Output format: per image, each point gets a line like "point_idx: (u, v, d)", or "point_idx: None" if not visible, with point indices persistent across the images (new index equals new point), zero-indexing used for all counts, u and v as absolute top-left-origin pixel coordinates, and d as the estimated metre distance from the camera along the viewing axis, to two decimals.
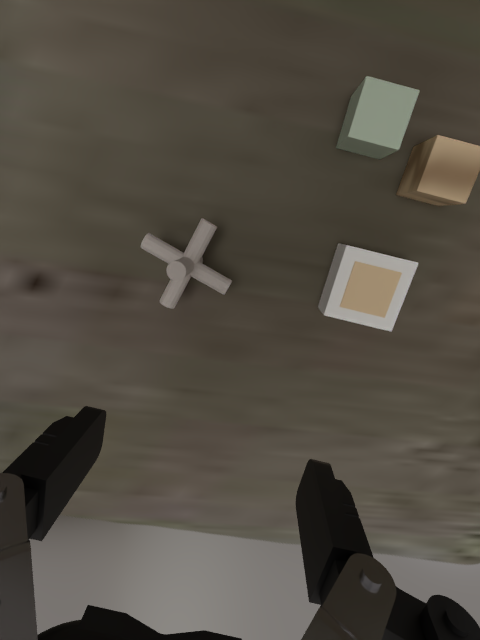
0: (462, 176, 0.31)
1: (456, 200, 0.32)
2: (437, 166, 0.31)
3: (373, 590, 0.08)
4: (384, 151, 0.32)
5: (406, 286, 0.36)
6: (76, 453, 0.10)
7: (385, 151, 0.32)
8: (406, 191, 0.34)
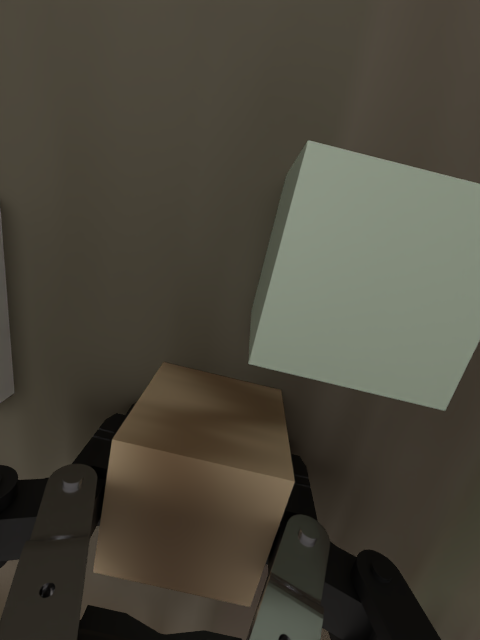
0: (170, 556, 0.10)
1: (98, 549, 0.10)
2: (196, 490, 0.09)
3: (307, 544, 0.08)
4: (256, 315, 0.09)
5: None
6: None
7: (255, 320, 0.09)
8: (145, 395, 0.11)
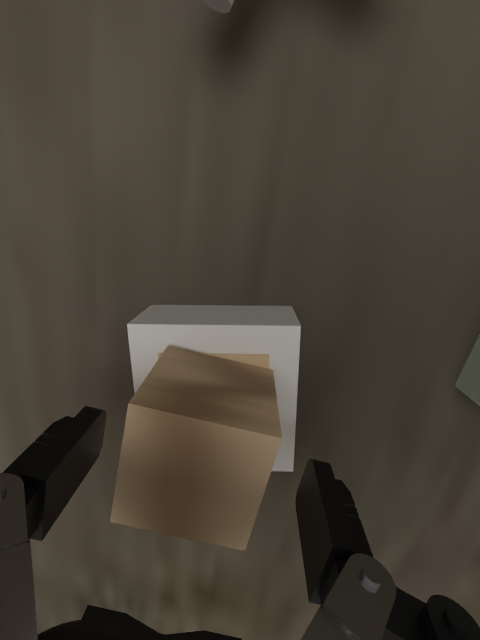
0: (176, 507, 0.11)
1: (115, 501, 0.11)
2: (199, 447, 0.11)
3: (373, 590, 0.08)
4: None
5: None
6: (76, 453, 0.10)
7: None
8: (153, 371, 0.12)
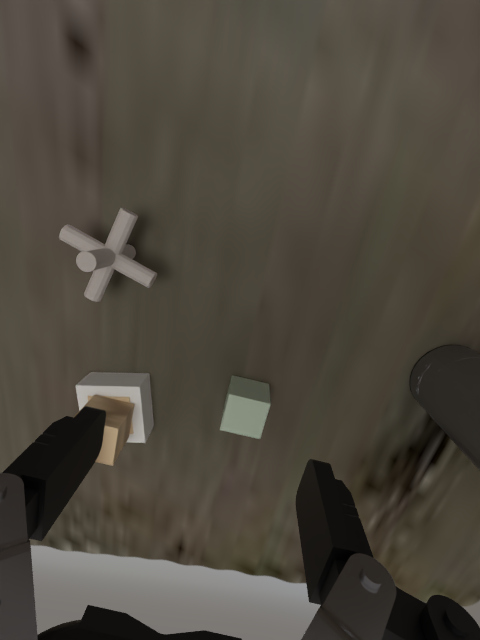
0: None
1: None
2: None
3: (373, 590, 0.08)
4: (222, 416, 0.41)
5: None
6: (76, 453, 0.10)
7: (222, 418, 0.40)
8: (84, 406, 0.37)
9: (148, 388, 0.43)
